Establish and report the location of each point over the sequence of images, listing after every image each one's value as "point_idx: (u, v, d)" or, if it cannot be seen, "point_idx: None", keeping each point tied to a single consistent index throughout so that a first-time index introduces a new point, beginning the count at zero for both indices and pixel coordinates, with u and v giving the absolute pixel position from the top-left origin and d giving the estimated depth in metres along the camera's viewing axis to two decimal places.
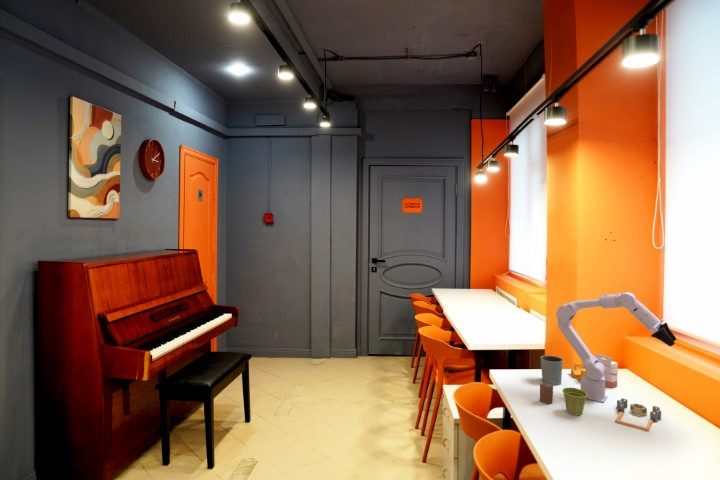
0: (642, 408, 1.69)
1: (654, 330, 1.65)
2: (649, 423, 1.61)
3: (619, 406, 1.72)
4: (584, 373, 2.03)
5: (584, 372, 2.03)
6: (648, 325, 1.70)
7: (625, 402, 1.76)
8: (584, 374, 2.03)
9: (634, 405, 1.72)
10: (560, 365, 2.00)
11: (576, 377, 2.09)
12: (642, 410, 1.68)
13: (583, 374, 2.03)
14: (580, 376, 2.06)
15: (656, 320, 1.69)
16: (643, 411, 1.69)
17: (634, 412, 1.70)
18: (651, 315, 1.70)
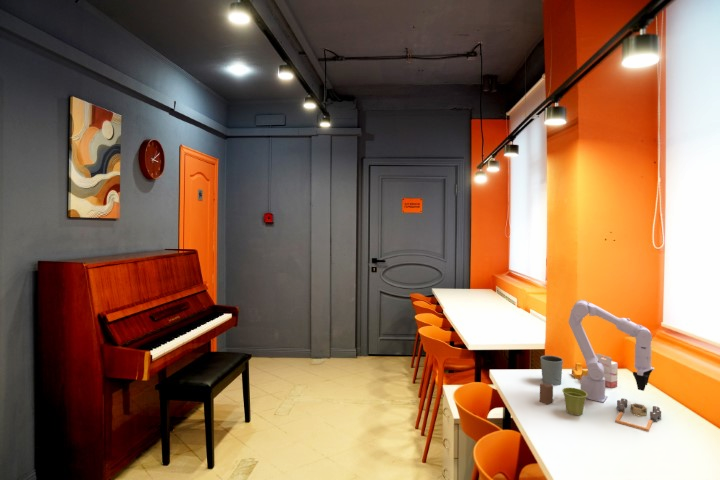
0: (642, 408, 1.69)
1: (640, 373, 1.71)
2: (649, 423, 1.61)
3: (619, 406, 1.72)
4: (585, 373, 2.03)
5: (585, 372, 2.03)
6: (638, 364, 1.75)
7: (625, 402, 1.76)
8: (585, 374, 2.03)
9: (634, 405, 1.72)
10: (560, 365, 2.00)
11: (577, 377, 2.09)
12: (642, 410, 1.68)
13: (584, 374, 2.03)
14: (581, 376, 2.06)
15: (648, 366, 1.73)
16: (643, 411, 1.69)
17: (634, 412, 1.70)
18: (649, 360, 1.73)
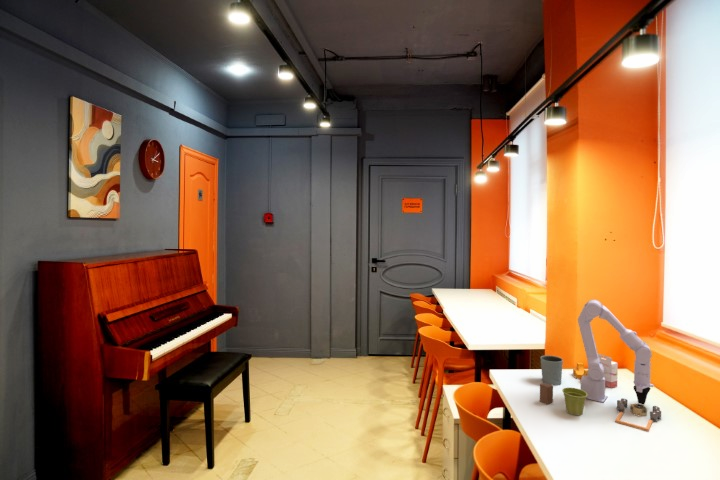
0: (642, 408, 1.69)
1: (639, 390, 1.71)
2: (649, 423, 1.61)
3: (619, 406, 1.72)
4: (587, 373, 2.03)
5: (587, 372, 2.03)
6: (637, 380, 1.76)
7: (625, 402, 1.76)
8: (587, 374, 2.03)
9: (634, 405, 1.72)
10: (560, 365, 2.00)
11: (578, 377, 2.09)
12: (642, 410, 1.68)
13: (586, 374, 2.03)
14: None
15: (647, 382, 1.74)
16: (643, 411, 1.69)
17: (634, 412, 1.70)
18: (648, 377, 1.74)
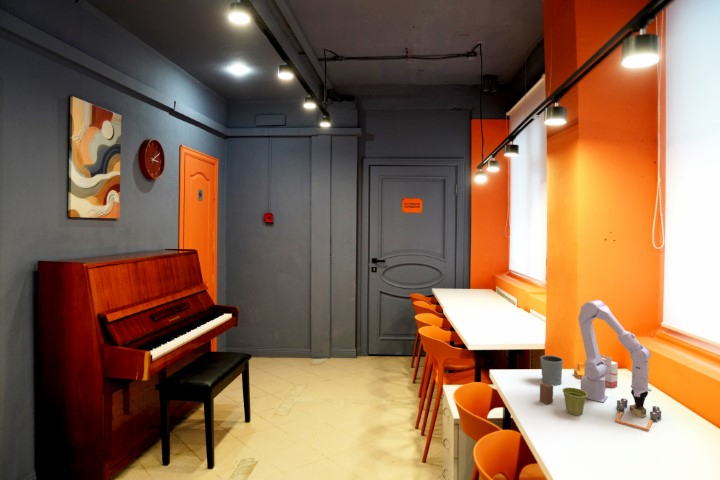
0: (641, 409, 1.68)
1: (637, 394, 1.67)
2: (649, 423, 1.61)
3: (619, 406, 1.72)
4: None
5: None
6: (635, 384, 1.71)
7: (625, 402, 1.76)
8: None
9: (633, 406, 1.71)
10: (560, 365, 2.00)
11: (580, 377, 2.08)
12: (641, 411, 1.67)
13: None
14: None
15: (645, 387, 1.69)
16: (643, 412, 1.67)
17: (633, 413, 1.69)
18: (646, 381, 1.69)
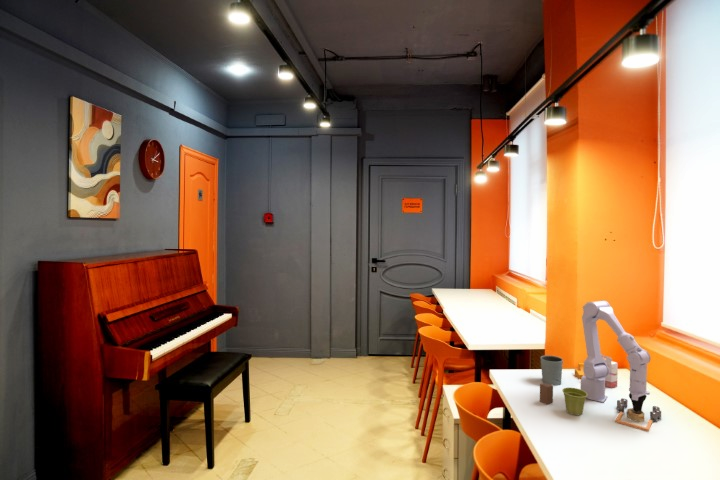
0: (639, 413, 1.64)
1: (635, 398, 1.63)
2: (649, 423, 1.61)
3: (619, 406, 1.72)
4: None
5: None
6: (633, 388, 1.68)
7: (625, 402, 1.76)
8: None
9: (631, 410, 1.67)
10: (560, 365, 2.00)
11: (581, 377, 2.08)
12: (639, 415, 1.64)
13: None
14: None
15: (643, 390, 1.66)
16: (641, 416, 1.64)
17: (631, 417, 1.65)
18: (644, 384, 1.66)
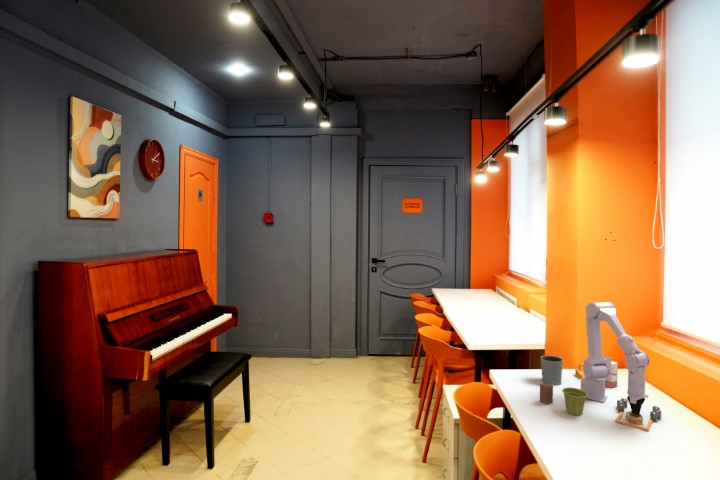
0: (638, 416, 1.62)
1: (633, 401, 1.61)
2: (649, 423, 1.61)
3: (619, 406, 1.72)
4: None
5: None
6: (631, 391, 1.65)
7: (625, 402, 1.76)
8: None
9: (629, 413, 1.64)
10: (560, 365, 2.00)
11: None
12: (638, 418, 1.61)
13: None
14: None
15: (642, 393, 1.63)
16: (639, 420, 1.61)
17: (629, 420, 1.63)
18: (642, 387, 1.63)
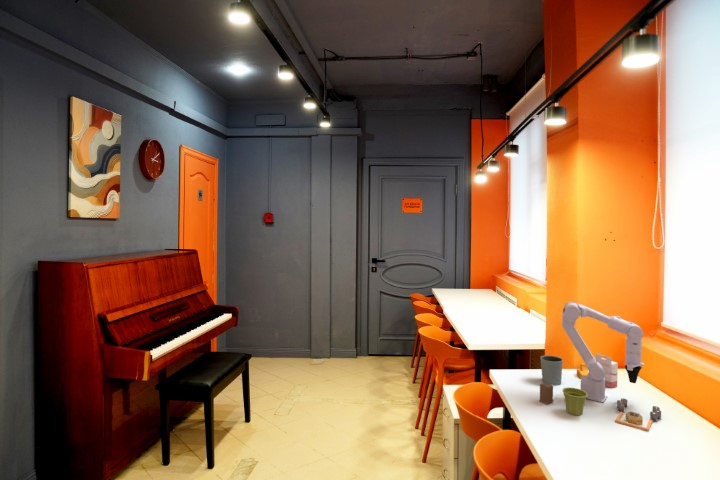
0: (638, 416, 1.62)
1: (630, 368, 1.74)
2: (649, 423, 1.61)
3: (619, 406, 1.72)
4: None
5: None
6: (628, 359, 1.79)
7: (625, 402, 1.76)
8: None
9: (629, 413, 1.64)
10: (560, 365, 2.00)
11: None
12: (638, 419, 1.61)
13: None
14: None
15: (638, 361, 1.77)
16: (639, 420, 1.61)
17: (629, 421, 1.63)
18: (639, 356, 1.77)
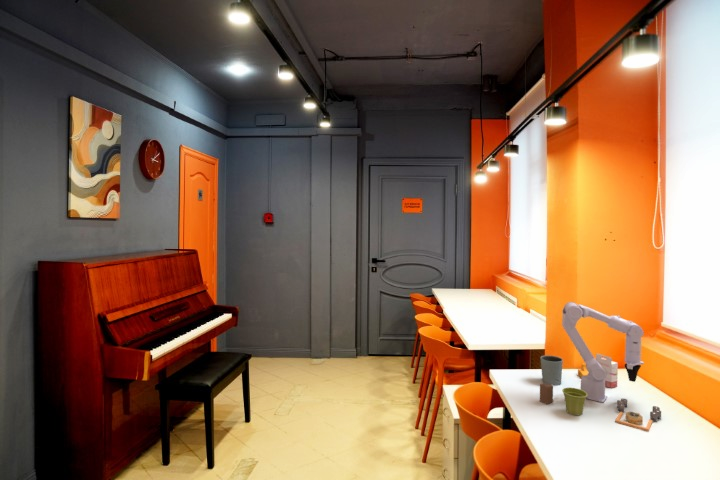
0: (638, 416, 1.62)
1: (630, 367, 1.76)
2: (649, 423, 1.61)
3: (619, 406, 1.72)
4: None
5: None
6: (628, 358, 1.80)
7: (625, 402, 1.76)
8: None
9: (629, 413, 1.64)
10: (560, 365, 2.00)
11: None
12: (638, 419, 1.61)
13: None
14: None
15: (638, 360, 1.78)
16: (639, 420, 1.61)
17: (629, 421, 1.63)
18: (638, 354, 1.78)
